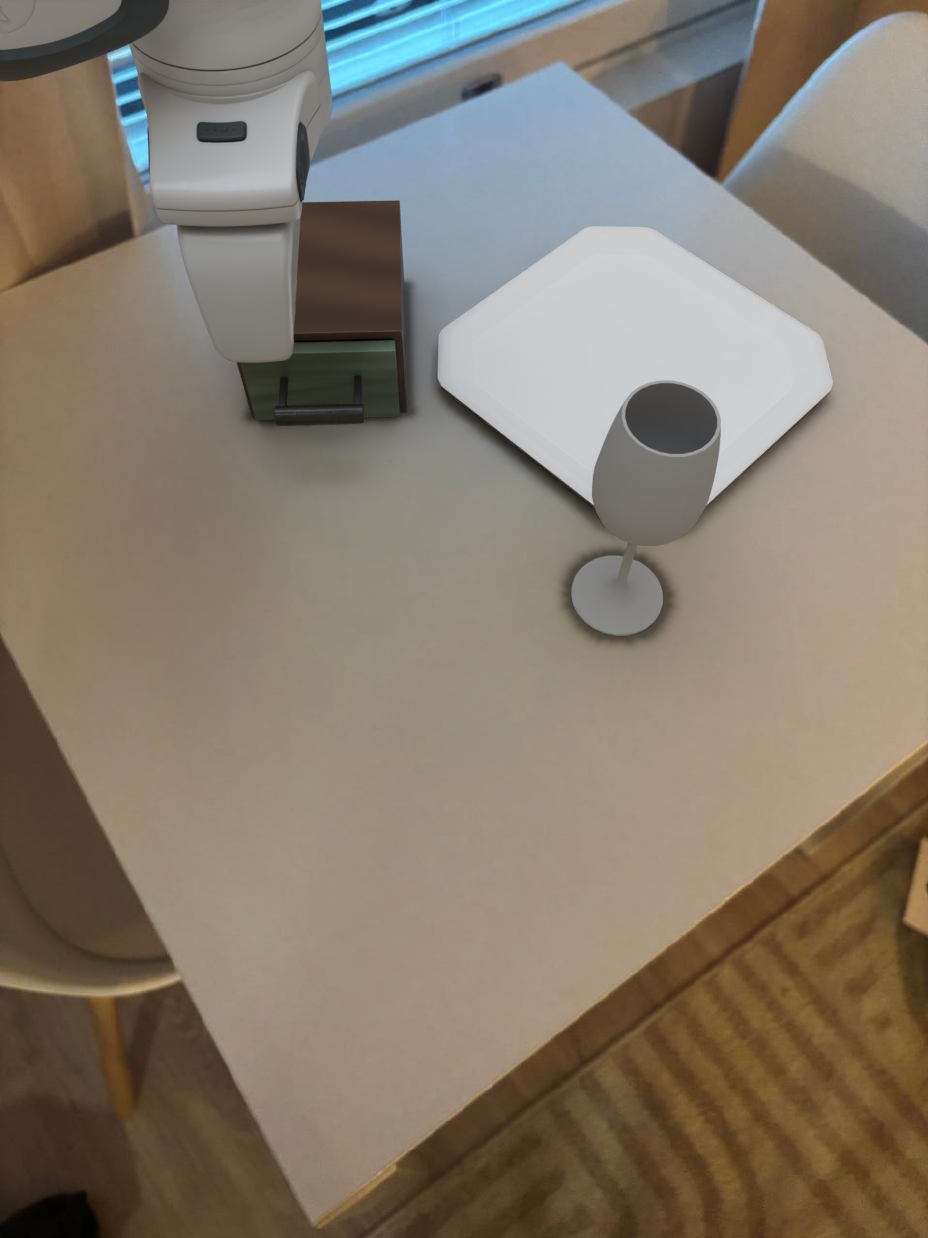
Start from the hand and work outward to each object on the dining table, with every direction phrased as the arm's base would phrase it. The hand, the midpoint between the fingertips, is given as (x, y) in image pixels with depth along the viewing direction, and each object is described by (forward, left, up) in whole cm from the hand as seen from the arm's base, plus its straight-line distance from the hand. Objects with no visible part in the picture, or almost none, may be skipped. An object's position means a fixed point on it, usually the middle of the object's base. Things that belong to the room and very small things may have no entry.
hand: (282, 301), depth 57 cm
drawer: (0, +15, -22) cm, 27 cm away
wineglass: (+23, -8, -23) cm, 34 cm away
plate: (+27, +15, -23) cm, 39 cm away
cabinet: (0, +19, -23) cm, 30 cm away
